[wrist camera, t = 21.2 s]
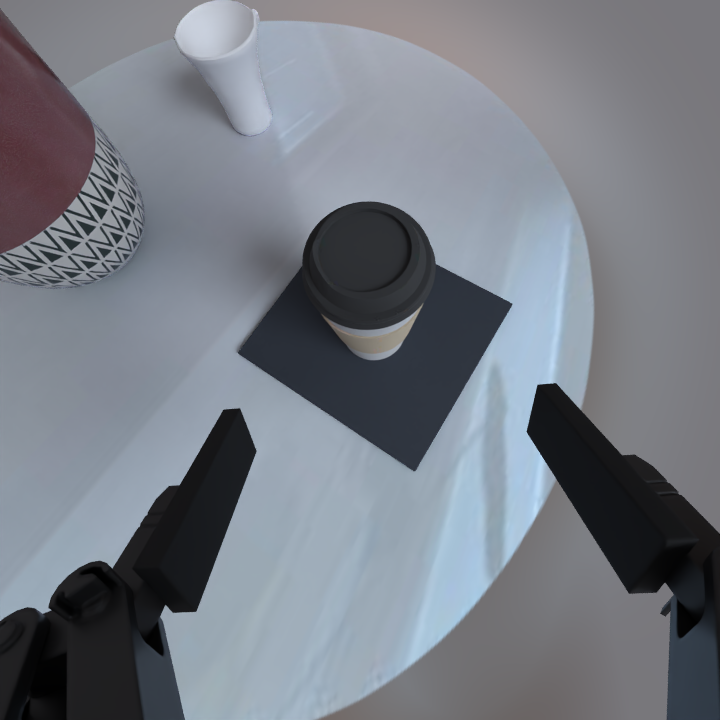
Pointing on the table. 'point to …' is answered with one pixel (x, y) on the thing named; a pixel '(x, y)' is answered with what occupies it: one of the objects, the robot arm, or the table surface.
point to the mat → (382, 363)
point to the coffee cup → (369, 275)
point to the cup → (228, 60)
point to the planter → (58, 180)
